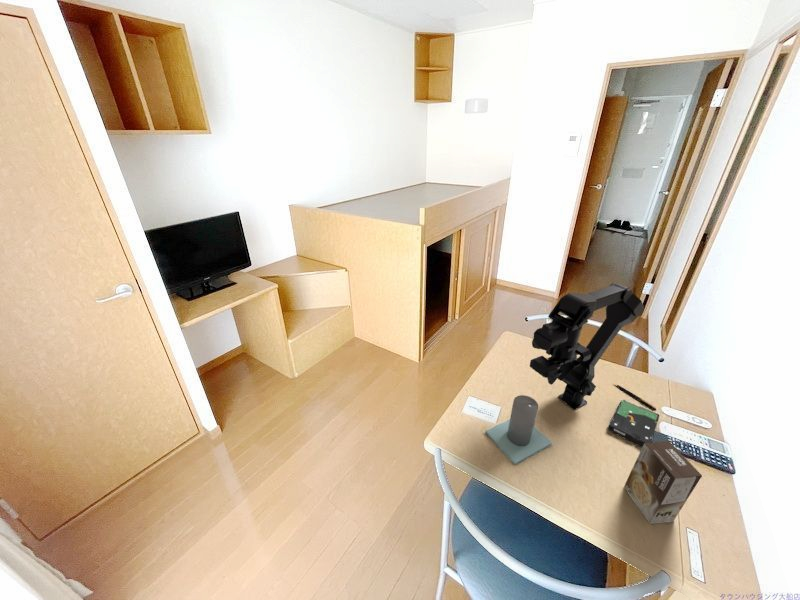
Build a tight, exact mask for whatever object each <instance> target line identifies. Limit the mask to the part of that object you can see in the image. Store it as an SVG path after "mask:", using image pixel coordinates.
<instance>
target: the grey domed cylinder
mask: <svg viewBox="0 0 800 600" xmlns="http://www.w3.org/2000/svg"><path fill="white" fill-rule="evenodd" d="M538 411H539V404H538V401H536V400H535V399H534V398H533V397H531V396H529V395H523V394H521V395H517V396H515V397H514V399H513V402H512V408H511V411H510V416H509V419H510V421H509V426H508V432H507V437H508V439H509V440H510V441H511V442H512V443H513V444H515V445H518V446H526V445H528V444H529V443H530V440H531V436H532V432H533V428H534V426H535V423H536V421H537V415H538Z"/></svg>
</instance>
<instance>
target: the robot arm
mask: <svg viewBox="0 0 800 600" xmlns="http://www.w3.org/2000/svg"><path fill="white" fill-rule="evenodd" d="M603 308H605V320H603V322H602V323H601V325H600V327H598V329H597V331H596V332H595V333H594V335H593V337H592V338H591V339H590V340H589V343H588V344H587V345H586V346H584V345H582V343H580V342H579V340H580V339H579V338H580V336H581V333H582V329H583V325H585V324H587V323H588V322H589V319H591V318H592V317H593V315H594V312H595V311H597V310H600V309H603ZM644 310H645V305H644V303H643V300H641V299H640V298H639V297H638V296H637V295H635V293H634V292H633V290H632V289H631V288H630V287H627V286H625V285H622V284H619V283H611V284H609V285H608V286H606V287H603V288H600V289H597V290H594V291H590V292H587V293H580V292H570V293H567V294H565V295H563V296H562V297H560V299H559V301H557V303H556V305H555V306H554V307H553V309H552V310H551V312H550V313H549V314H548V315H547V317H548V318H549V319H550V320H552V321H551V322H547V323H546V322H545V324H543V325H542V327H539V328H537V329H536V330H535V331H534V332H533V337H532V341H531V345H532V348H534V349H537V350H543V351H545V354H547V355H548V356H550V357H545V356H544V355H539V356H537V357H535V358H532V359H530V362H529V367H530V368H531V369H532V370H534V371H535V372H536V373H538V374H539V375H541V377H543V378H545V379H547V383H548V384H549V385H553V384H554V383H555V382H556V380H557V379H558V380H559V381H560V382H561V381H562V382H563V383H565V384H566V385H565V387H564V391H563V393H561V394H559V395H558V396H557V398H558V399H559V400H560V401H562V402H563V403H565V404H566V405H567V406H568V407H570V408H571V409H572V410H577V409H579V408H581V407H583V406H585V405H587V404H588V401H587V400H586V399H585V398H584V397H586V396H590V397H591V396H592V393H593V392H594V391H595V389H596V387H597V385H595V383H594V382H593V380H594V378H595V376H596V375H595V373H596V372H595V366H596V365H597V363H598V362H599V360H600V359H601V358H602V356H603V355H604V353H605V352H606V351H607V349H608V348H609V347H610V345H611V343H612V342H613V341H614V340H615V338H616V336H617V335H618V333H619V332H620V331H621V330H622V328H623V327H625V326H627V325H630V324H632V323H634V322H635V321H636V319H637V318H638V317H640V316H641V315H642V314H643V312H644ZM559 313H561V314H563V315H565V316H563V315H561V314H559ZM578 355H579V356H578Z"/></svg>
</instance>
